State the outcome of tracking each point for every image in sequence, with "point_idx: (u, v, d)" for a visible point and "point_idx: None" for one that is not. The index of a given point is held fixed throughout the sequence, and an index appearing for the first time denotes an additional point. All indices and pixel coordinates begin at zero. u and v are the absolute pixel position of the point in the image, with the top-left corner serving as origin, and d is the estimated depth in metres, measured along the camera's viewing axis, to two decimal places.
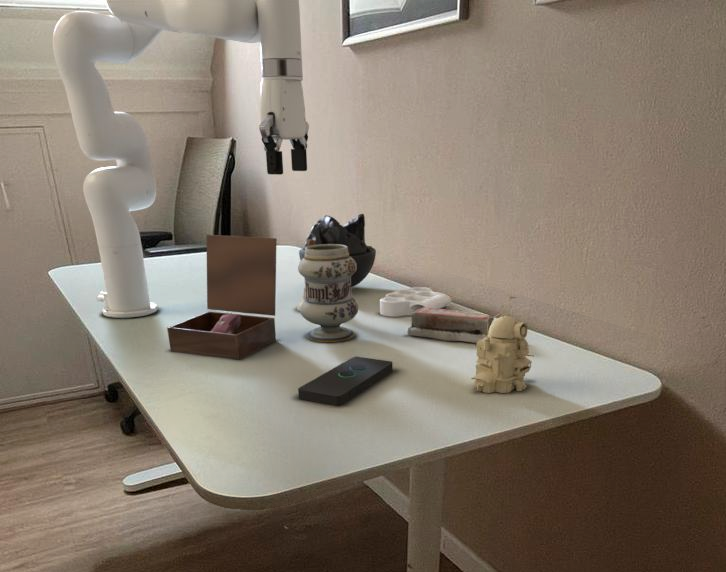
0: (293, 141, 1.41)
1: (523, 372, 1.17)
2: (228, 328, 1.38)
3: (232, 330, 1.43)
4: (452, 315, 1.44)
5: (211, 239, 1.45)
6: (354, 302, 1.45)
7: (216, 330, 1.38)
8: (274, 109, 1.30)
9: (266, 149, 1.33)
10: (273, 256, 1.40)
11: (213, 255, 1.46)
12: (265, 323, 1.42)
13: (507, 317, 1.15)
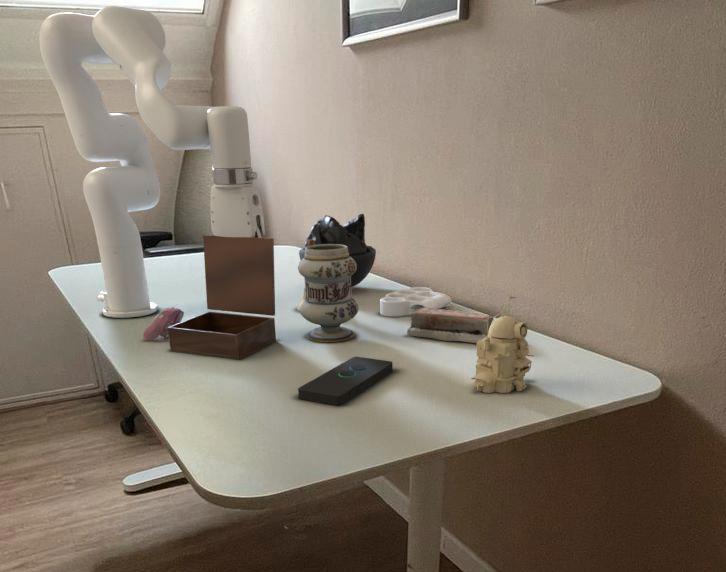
0: None
1: (523, 372, 1.17)
2: (168, 321, 1.46)
3: (174, 323, 1.51)
4: (452, 315, 1.44)
5: (208, 239, 1.44)
6: (354, 302, 1.45)
7: (156, 323, 1.45)
8: None
9: None
10: (271, 256, 1.40)
11: (211, 255, 1.45)
12: (265, 323, 1.42)
13: (507, 317, 1.15)
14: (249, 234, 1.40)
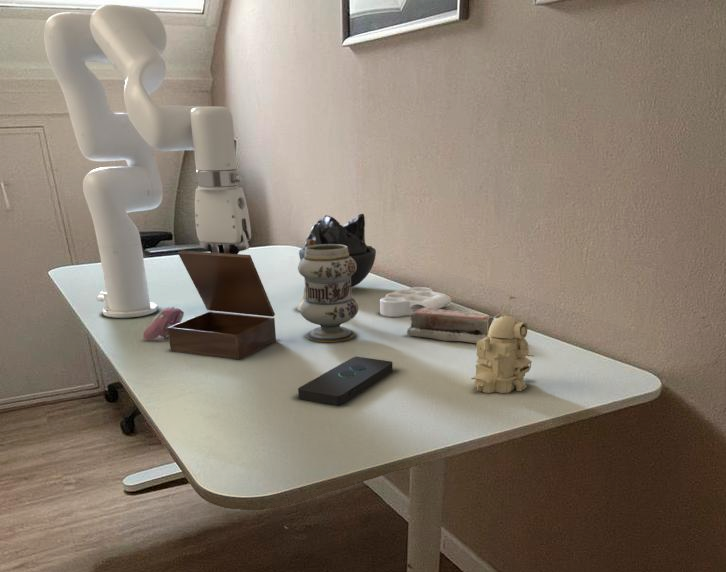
0: None
1: (523, 372, 1.17)
2: (168, 321, 1.46)
3: (174, 323, 1.51)
4: (452, 315, 1.44)
5: (184, 256, 1.38)
6: (354, 302, 1.45)
7: (156, 323, 1.45)
8: None
9: None
10: (253, 272, 1.35)
11: (193, 269, 1.40)
12: (265, 323, 1.42)
13: (507, 317, 1.15)
14: (234, 238, 1.36)
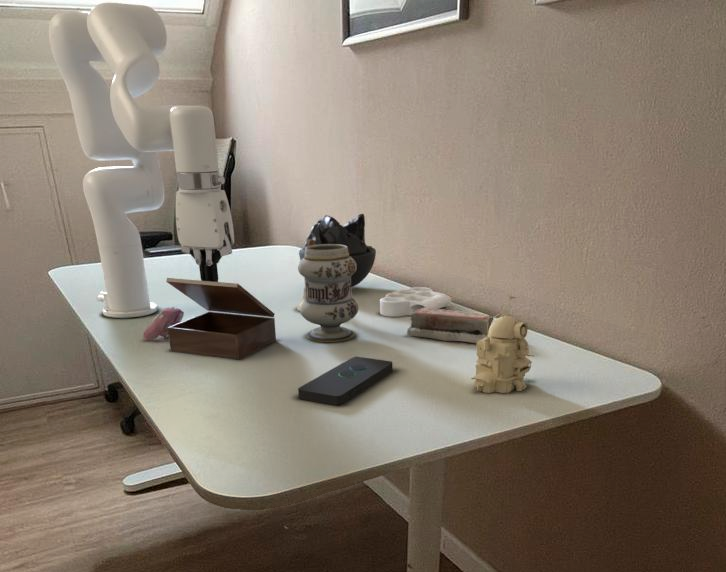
0: None
1: (523, 372, 1.17)
2: (168, 321, 1.46)
3: (174, 323, 1.51)
4: (452, 315, 1.44)
5: (174, 284, 1.37)
6: (354, 302, 1.45)
7: (156, 323, 1.45)
8: None
9: None
10: (245, 294, 1.34)
11: (185, 290, 1.39)
12: (265, 323, 1.42)
13: (507, 317, 1.15)
14: (217, 242, 1.31)
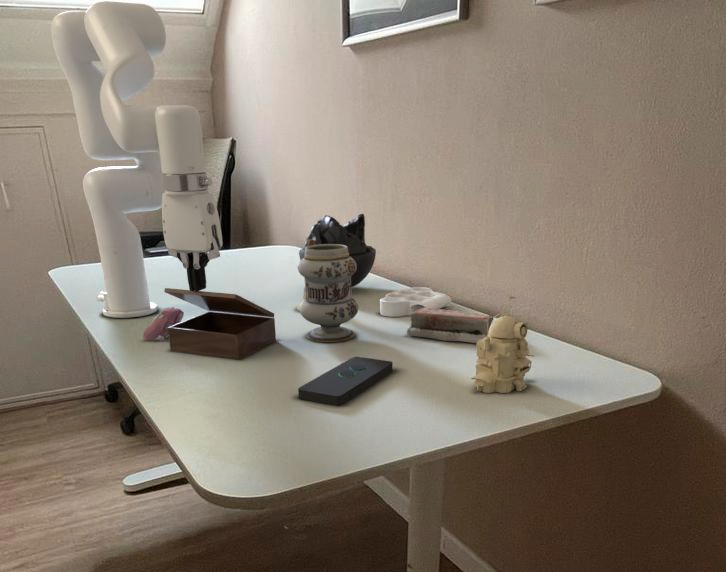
0: None
1: (523, 372, 1.17)
2: (168, 321, 1.46)
3: (174, 323, 1.51)
4: (452, 315, 1.44)
5: (172, 293, 1.37)
6: (354, 302, 1.45)
7: (156, 323, 1.45)
8: None
9: None
10: (243, 303, 1.34)
11: (184, 298, 1.39)
12: (265, 323, 1.42)
13: (507, 317, 1.15)
14: (204, 246, 1.27)
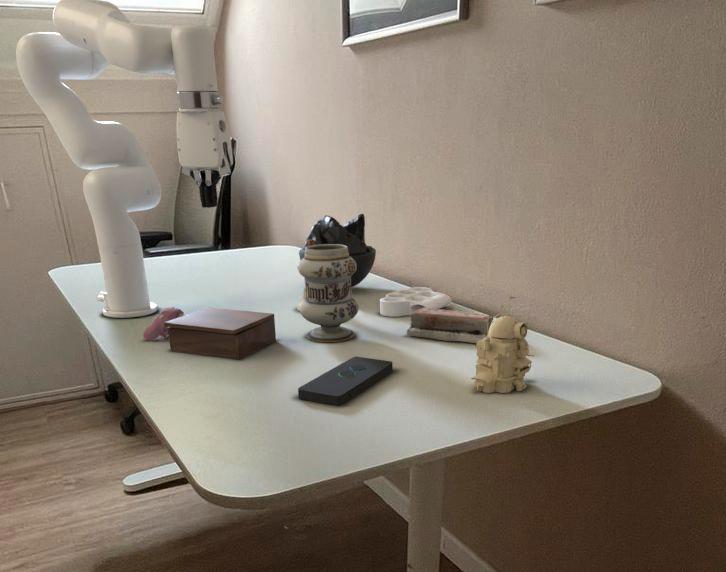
0: None
1: (523, 372, 1.17)
2: None
3: None
4: (452, 315, 1.44)
5: None
6: (354, 302, 1.45)
7: (156, 323, 1.45)
8: None
9: None
10: None
11: None
12: (265, 323, 1.42)
13: (507, 317, 1.15)
14: (216, 162, 1.36)
